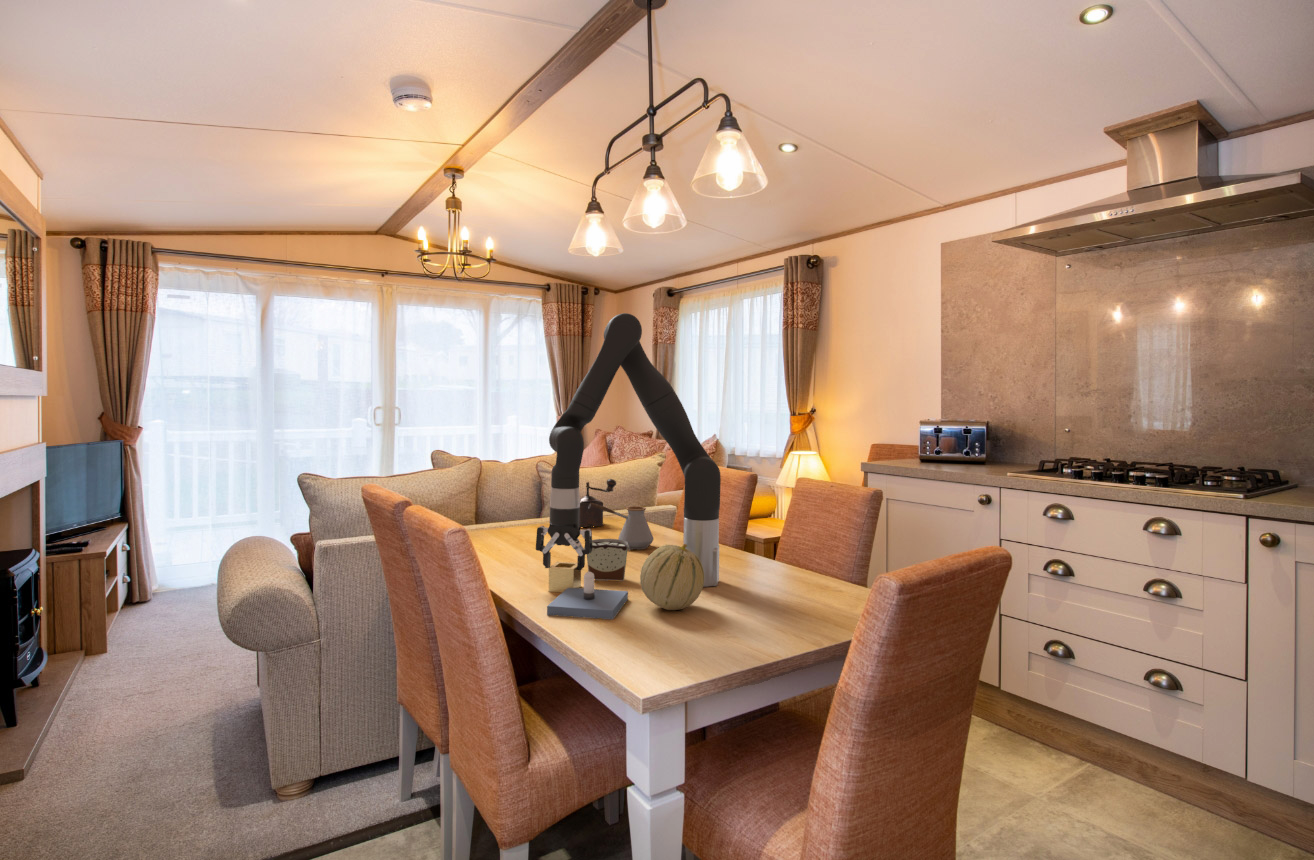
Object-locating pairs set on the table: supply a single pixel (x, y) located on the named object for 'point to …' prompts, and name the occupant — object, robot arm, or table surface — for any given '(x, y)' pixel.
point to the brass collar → (564, 576)
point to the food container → (608, 559)
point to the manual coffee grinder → (593, 507)
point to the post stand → (588, 601)
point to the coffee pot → (633, 527)
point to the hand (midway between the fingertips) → (563, 568)
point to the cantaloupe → (672, 577)
